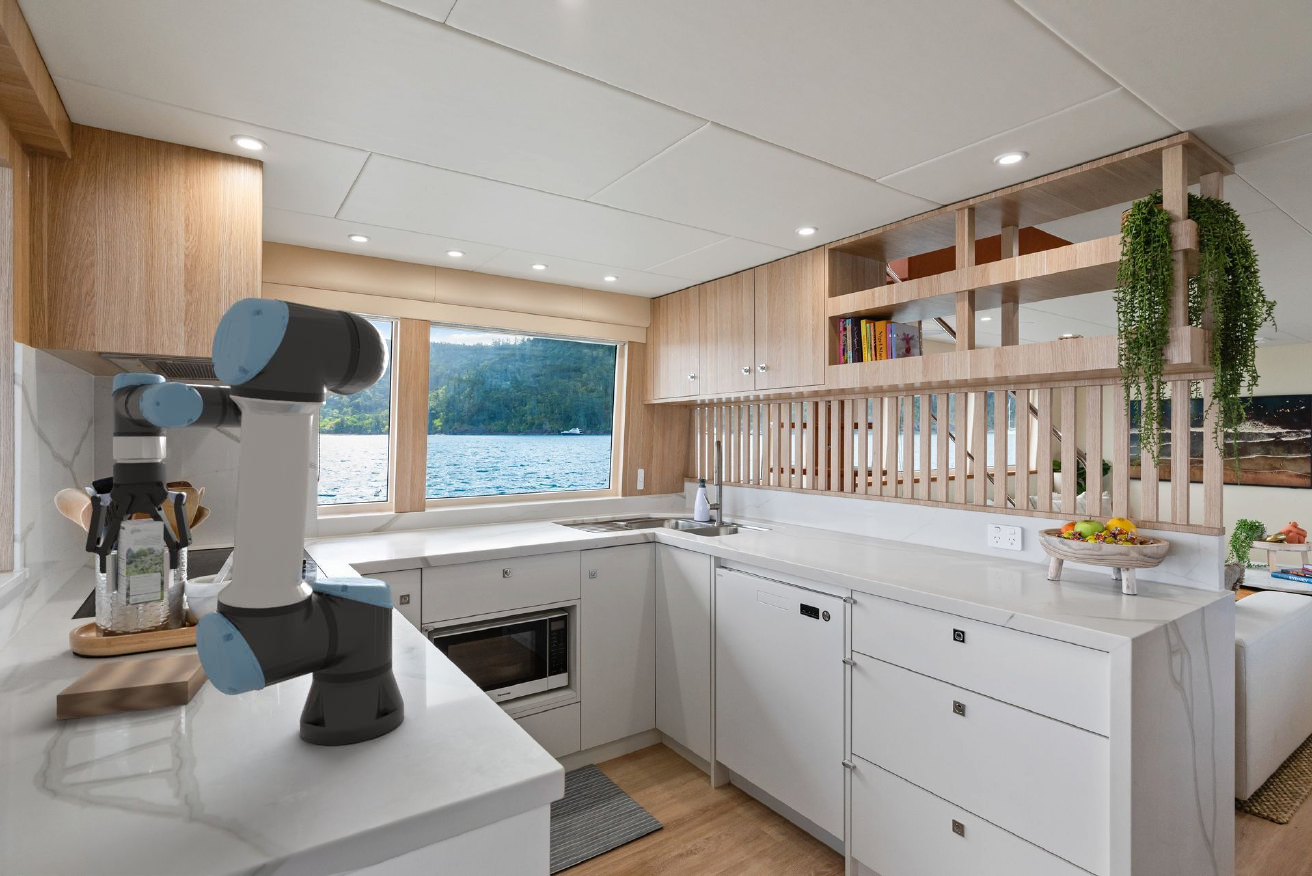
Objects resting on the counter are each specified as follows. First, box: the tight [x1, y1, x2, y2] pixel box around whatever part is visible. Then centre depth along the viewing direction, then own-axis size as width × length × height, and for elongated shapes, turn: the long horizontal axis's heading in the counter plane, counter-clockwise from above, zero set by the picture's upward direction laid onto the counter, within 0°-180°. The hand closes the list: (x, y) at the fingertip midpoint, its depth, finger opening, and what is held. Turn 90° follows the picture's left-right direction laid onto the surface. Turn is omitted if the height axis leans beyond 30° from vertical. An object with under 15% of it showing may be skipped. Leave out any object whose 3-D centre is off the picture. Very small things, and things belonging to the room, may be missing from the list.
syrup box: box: [116, 518, 166, 607], centre depth 119 cm, size 6×6×14 cm
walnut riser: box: [56, 653, 209, 721], centre depth 119 cm, size 18×16×4 cm
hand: (140, 589), depth 119 cm, fingers closed on syrup box, 8 cm apart
